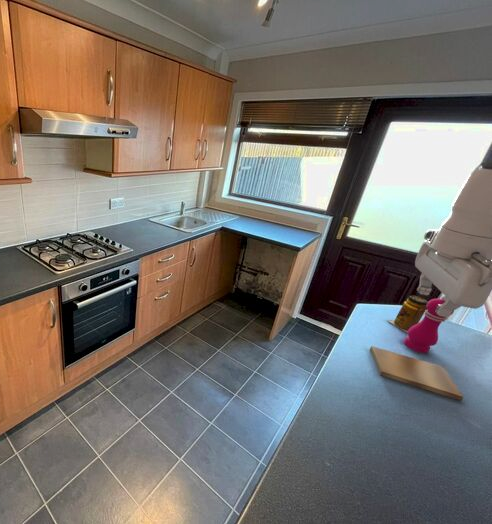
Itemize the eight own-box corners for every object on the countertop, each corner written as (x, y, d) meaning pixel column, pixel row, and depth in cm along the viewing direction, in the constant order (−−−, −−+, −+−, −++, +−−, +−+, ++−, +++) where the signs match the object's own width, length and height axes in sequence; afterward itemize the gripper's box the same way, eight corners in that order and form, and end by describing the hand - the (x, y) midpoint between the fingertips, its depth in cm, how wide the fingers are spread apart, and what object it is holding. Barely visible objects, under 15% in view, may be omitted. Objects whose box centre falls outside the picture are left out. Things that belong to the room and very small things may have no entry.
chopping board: (440, 370, 85) (443, 366, 84) (460, 400, 75) (463, 396, 74) (369, 349, 91) (371, 345, 91) (379, 375, 81) (381, 371, 81)
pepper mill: (402, 336, 99) (431, 287, 90) (430, 347, 94) (463, 297, 86) (400, 345, 94) (430, 295, 85) (429, 357, 89) (464, 305, 81)
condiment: (387, 320, 107) (401, 294, 102) (405, 319, 108) (420, 293, 103) (406, 333, 101) (422, 305, 95) (425, 332, 102) (442, 304, 97)
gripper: (524, 268, 46) (477, 335, 52) (458, 233, 63) (429, 286, 69) (472, 260, 48) (433, 325, 54) (423, 228, 65) (397, 280, 71)
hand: (431, 303), depth 61 cm, fingers open, 8 cm apart
